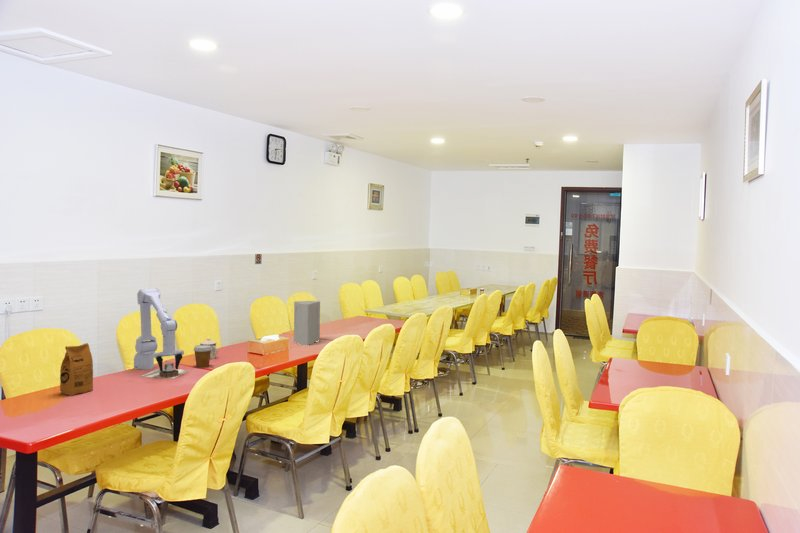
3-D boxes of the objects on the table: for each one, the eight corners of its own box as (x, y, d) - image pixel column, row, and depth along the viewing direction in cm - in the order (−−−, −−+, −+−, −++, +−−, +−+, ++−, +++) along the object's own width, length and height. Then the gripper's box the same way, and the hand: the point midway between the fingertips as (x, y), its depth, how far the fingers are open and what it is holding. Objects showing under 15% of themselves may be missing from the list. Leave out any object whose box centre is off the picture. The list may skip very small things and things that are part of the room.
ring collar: (156, 377, 292) (155, 373, 292) (165, 373, 301) (165, 369, 301) (172, 378, 291) (172, 374, 291) (181, 373, 300) (181, 370, 300)
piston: (162, 376, 294) (162, 364, 294) (167, 374, 298) (167, 362, 298) (170, 376, 294) (170, 365, 293) (175, 374, 298) (175, 363, 298)
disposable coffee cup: (214, 366, 322) (214, 345, 322) (207, 370, 313) (207, 348, 312) (198, 365, 323) (198, 344, 322) (190, 369, 314) (190, 347, 313)
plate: (139, 378, 293) (139, 376, 293) (158, 370, 310) (158, 368, 310) (173, 380, 290) (173, 378, 290) (190, 372, 308) (190, 370, 308)
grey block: (300, 339, 407) (301, 300, 406) (319, 341, 403) (320, 301, 402) (287, 344, 389) (288, 303, 388) (307, 346, 385) (308, 304, 383)
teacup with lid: (196, 358, 341) (196, 338, 340) (208, 355, 349) (208, 336, 349) (212, 360, 336) (212, 340, 335) (223, 357, 344) (223, 338, 343)
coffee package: (57, 393, 264) (56, 345, 263) (83, 387, 274) (83, 341, 273) (69, 396, 259) (68, 348, 257) (96, 390, 269) (95, 344, 268)
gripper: (156, 346, 287) (156, 373, 288) (185, 343, 296) (185, 369, 297) (152, 344, 293) (152, 370, 294) (181, 341, 302) (181, 366, 303)
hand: (169, 369), depth 296 cm, fingers open, 7 cm apart
